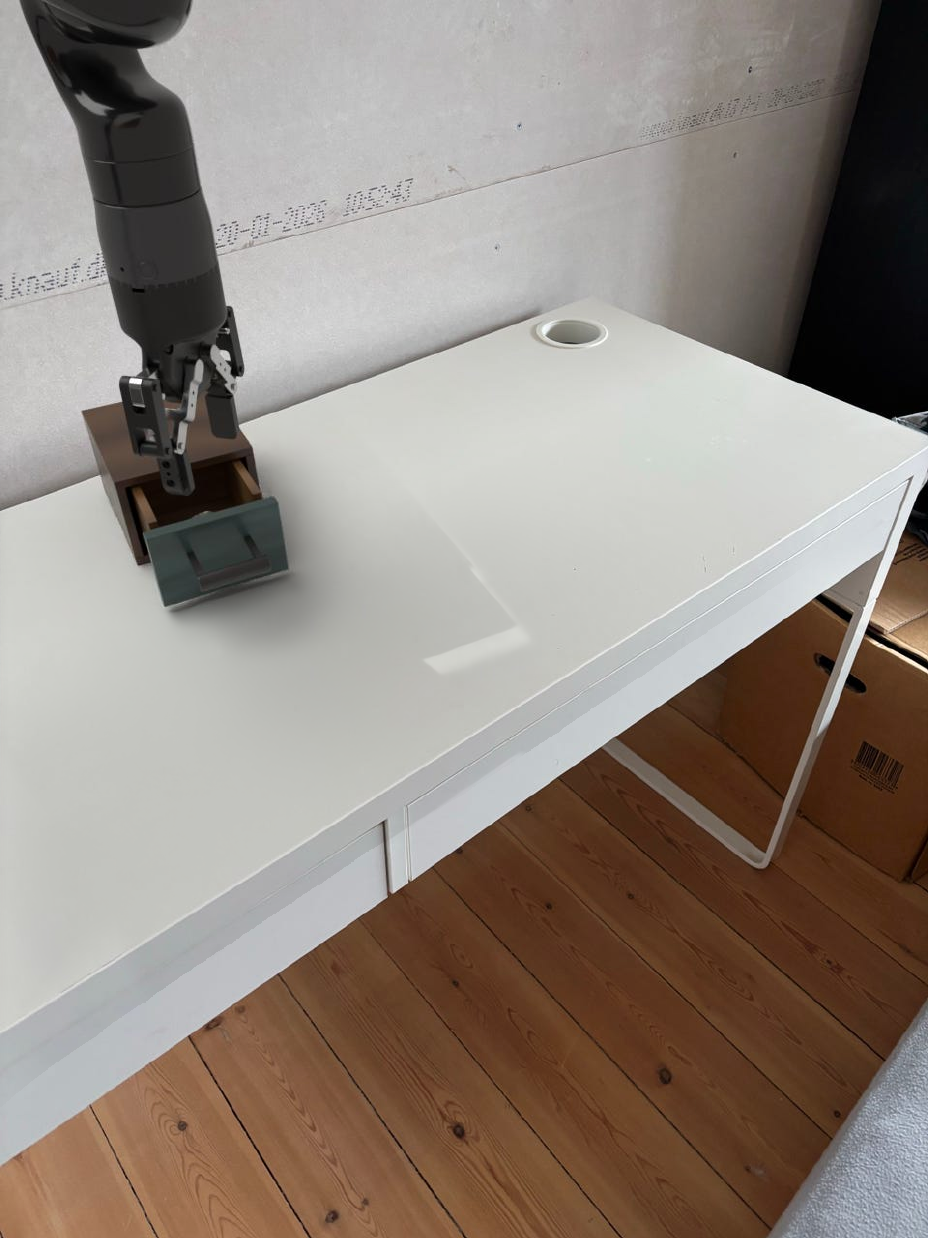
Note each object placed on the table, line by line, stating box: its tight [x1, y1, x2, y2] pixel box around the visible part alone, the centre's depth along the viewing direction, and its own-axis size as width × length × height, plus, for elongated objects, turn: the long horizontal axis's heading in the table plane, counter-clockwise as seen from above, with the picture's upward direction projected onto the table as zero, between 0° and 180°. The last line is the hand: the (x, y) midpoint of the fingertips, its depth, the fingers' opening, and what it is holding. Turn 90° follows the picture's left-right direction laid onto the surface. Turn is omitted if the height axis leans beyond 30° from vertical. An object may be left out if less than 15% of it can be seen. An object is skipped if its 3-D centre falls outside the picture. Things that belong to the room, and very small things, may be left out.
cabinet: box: [80, 391, 261, 566], centre depth 95 cm, size 15×13×9 cm
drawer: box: [126, 458, 290, 608], centre depth 87 cm, size 18×11×7 cm, turn 27°
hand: (204, 463), depth 78 cm, fingers open, 8 cm apart
